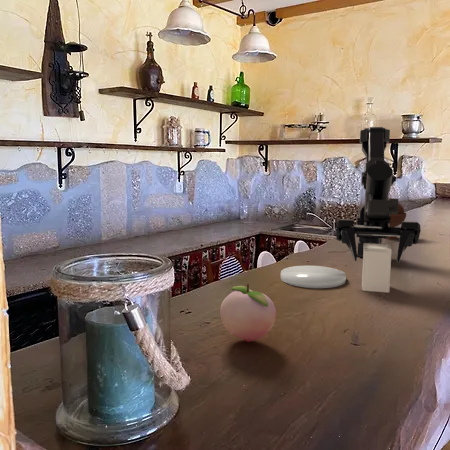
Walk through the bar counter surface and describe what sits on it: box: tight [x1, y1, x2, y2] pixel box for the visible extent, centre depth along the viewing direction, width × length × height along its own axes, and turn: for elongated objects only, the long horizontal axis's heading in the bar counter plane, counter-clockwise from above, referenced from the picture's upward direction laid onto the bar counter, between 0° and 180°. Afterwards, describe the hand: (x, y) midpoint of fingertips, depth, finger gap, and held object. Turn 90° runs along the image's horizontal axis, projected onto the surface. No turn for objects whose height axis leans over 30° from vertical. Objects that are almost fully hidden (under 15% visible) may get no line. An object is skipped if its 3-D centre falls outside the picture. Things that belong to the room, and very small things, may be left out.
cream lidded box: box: [361, 243, 392, 293], centre depth 104 cm, size 6×6×10 cm
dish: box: [280, 265, 347, 289], centre depth 112 cm, size 16×16×2 cm
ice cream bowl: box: [385, 197, 407, 240], centre depth 167 cm, size 11×11×15 cm
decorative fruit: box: [219, 283, 277, 343], centre depth 74 cm, size 9×8×10 cm
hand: (376, 261), depth 102 cm, fingers open, 9 cm apart
